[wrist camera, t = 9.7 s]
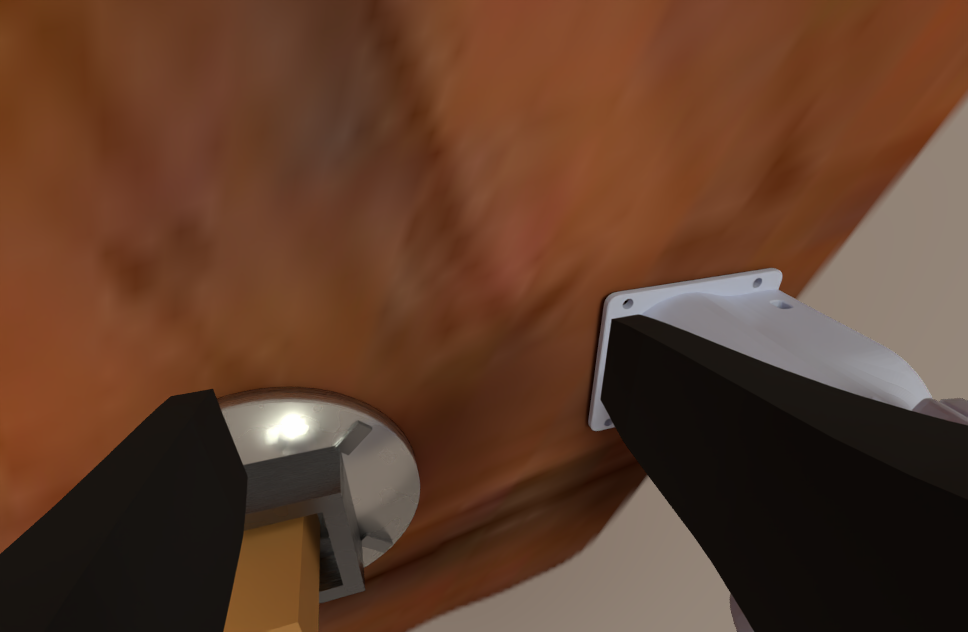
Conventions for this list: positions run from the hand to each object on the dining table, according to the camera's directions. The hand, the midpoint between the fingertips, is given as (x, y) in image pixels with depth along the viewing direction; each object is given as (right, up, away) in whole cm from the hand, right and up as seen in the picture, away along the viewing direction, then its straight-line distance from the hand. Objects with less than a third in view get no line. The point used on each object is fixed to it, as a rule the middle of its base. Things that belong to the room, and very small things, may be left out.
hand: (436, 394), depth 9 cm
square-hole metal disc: (-8, -7, +12) cm, 16 cm away
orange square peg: (-8, -7, +11) cm, 15 cm away
